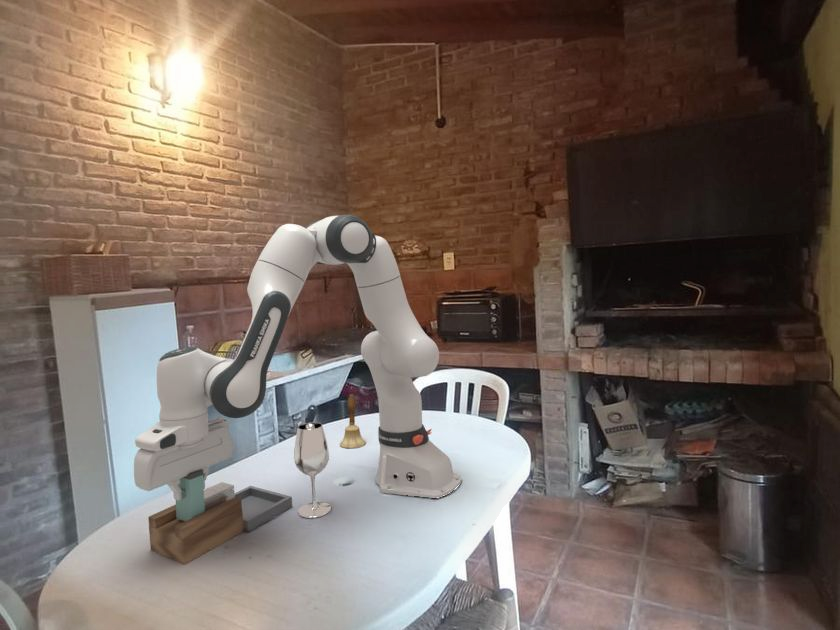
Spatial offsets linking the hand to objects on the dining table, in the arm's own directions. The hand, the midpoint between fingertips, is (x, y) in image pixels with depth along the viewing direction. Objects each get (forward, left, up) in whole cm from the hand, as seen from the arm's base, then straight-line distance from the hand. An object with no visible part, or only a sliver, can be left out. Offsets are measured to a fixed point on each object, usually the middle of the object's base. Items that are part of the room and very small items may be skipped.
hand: (189, 494), depth 105 cm
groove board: (0, -1, -10) cm, 10 cm away
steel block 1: (0, -3, -5) cm, 6 cm away
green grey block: (0, 0, -5) cm, 5 cm away
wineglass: (-13, -22, -11) cm, 28 cm away
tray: (0, -15, -10) cm, 18 cm away
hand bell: (+7, -62, -11) cm, 64 cm away
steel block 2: (0, -7, -5) cm, 9 cm away
